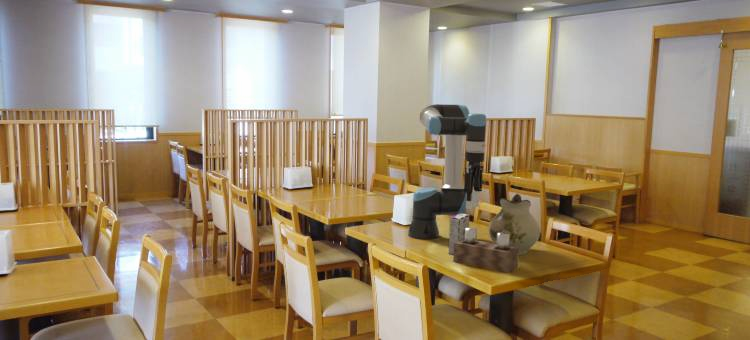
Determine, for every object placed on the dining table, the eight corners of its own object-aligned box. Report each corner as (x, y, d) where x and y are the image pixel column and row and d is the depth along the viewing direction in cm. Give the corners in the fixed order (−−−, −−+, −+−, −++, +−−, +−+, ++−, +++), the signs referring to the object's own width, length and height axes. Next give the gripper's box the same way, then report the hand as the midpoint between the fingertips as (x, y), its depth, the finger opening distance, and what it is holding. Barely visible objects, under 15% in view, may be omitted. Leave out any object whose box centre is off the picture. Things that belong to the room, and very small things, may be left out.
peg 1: (462, 246, 237) (463, 228, 236) (467, 243, 241) (468, 226, 240) (473, 248, 235) (474, 230, 234) (478, 245, 239) (479, 228, 238)
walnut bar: (453, 261, 237) (454, 242, 236) (463, 256, 246) (464, 238, 245) (508, 272, 224) (509, 252, 223) (517, 266, 232) (518, 247, 231)
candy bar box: (458, 248, 259) (459, 213, 257) (468, 250, 256) (470, 214, 254) (447, 253, 249) (449, 217, 247) (458, 255, 247) (460, 218, 244)
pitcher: (506, 259, 242) (510, 201, 239) (476, 246, 264) (479, 192, 261) (549, 256, 251) (553, 200, 248) (516, 243, 272) (520, 191, 270)
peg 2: (494, 252, 230) (495, 233, 229) (498, 249, 234) (499, 231, 233) (505, 254, 227) (506, 235, 226) (510, 251, 231) (511, 233, 230)
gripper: (474, 153, 223) (471, 212, 226) (492, 151, 239) (489, 205, 241) (456, 152, 228) (454, 209, 230) (475, 149, 243) (473, 203, 246)
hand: (472, 207), depth 236 cm, fingers open, 5 cm apart
